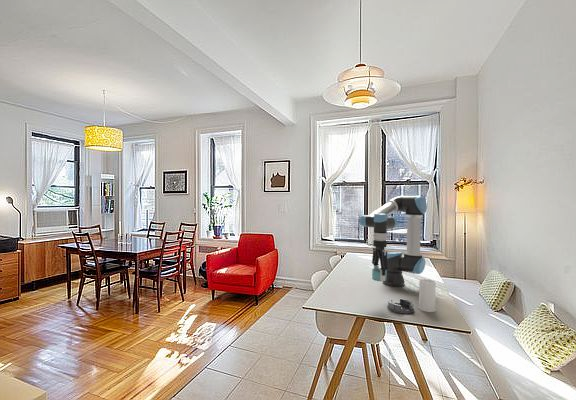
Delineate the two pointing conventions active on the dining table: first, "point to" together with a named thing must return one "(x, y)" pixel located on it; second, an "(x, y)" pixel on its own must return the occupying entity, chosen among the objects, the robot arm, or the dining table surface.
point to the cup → (427, 295)
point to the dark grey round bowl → (401, 306)
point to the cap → (377, 274)
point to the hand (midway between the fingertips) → (379, 278)
